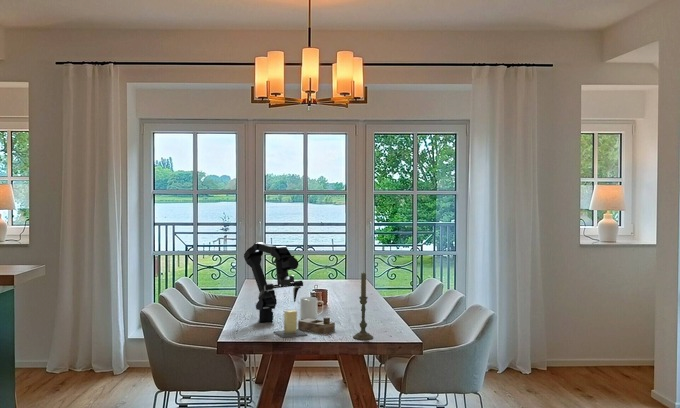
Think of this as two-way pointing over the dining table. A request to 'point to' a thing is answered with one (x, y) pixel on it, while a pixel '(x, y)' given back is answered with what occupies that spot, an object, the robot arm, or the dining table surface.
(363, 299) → the candlestick holder
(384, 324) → the dining table surface
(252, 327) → the dining table surface
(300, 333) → the rubber mat
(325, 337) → the dining table surface
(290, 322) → the tan wood-grain block
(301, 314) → the mug
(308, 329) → the body
